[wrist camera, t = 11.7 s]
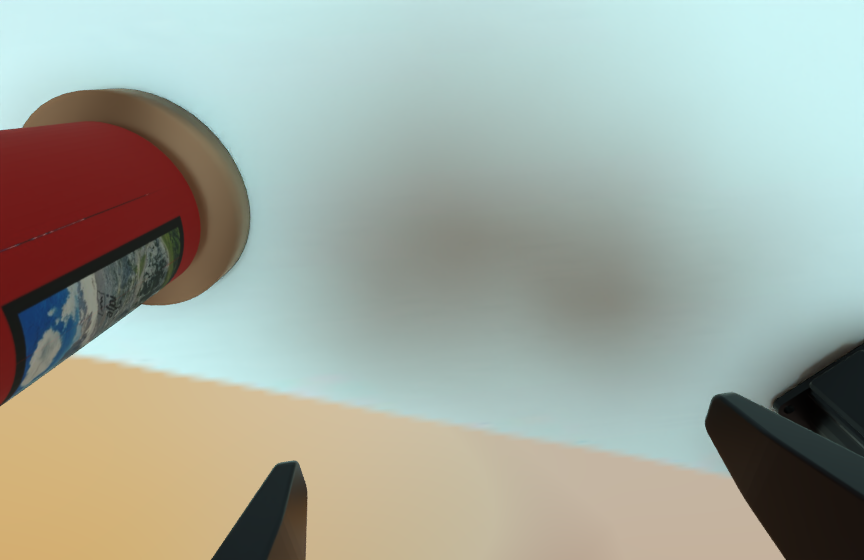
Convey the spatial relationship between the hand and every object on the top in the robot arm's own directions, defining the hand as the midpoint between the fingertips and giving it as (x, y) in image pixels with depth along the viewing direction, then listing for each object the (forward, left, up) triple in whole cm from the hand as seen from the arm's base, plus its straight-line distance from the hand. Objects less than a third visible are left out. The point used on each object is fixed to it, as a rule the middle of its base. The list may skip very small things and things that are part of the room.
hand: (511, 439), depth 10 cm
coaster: (+13, +8, -11) cm, 19 cm away
